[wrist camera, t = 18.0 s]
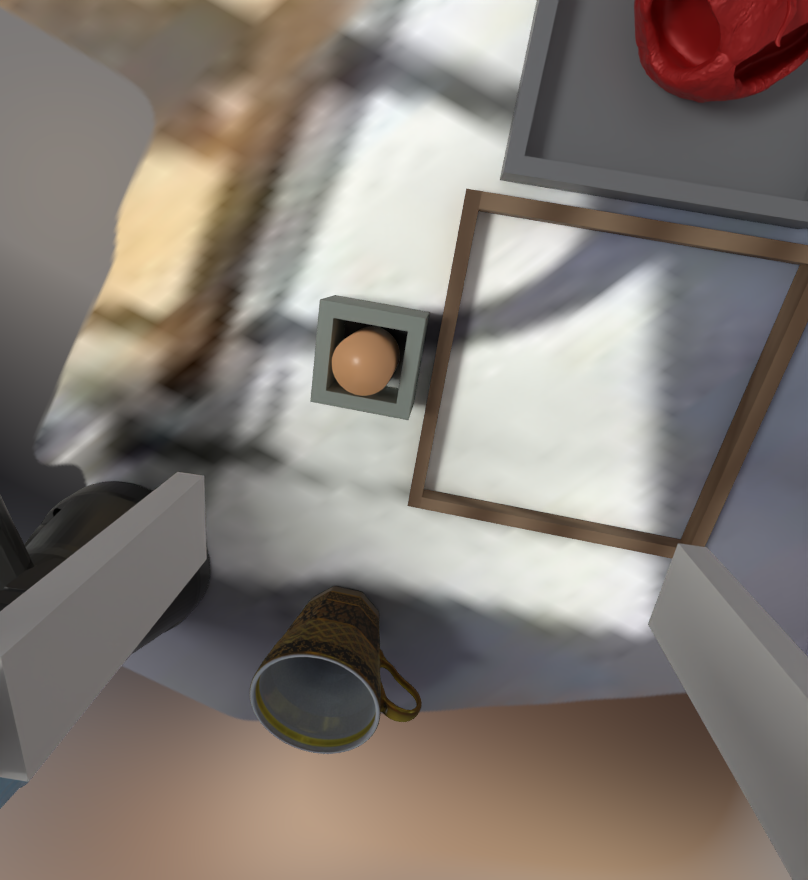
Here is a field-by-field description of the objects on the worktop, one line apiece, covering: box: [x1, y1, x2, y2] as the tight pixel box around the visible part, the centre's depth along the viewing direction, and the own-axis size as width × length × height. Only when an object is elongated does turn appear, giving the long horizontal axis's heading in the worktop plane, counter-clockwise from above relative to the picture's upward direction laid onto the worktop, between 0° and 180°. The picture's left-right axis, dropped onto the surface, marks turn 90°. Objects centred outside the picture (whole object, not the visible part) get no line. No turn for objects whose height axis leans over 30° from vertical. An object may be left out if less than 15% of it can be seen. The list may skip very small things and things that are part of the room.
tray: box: [500, 0, 808, 229], centre depth 26 cm, size 19×19×3 cm
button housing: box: [310, 295, 430, 420], centre depth 34 cm, size 7×7×4 cm
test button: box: [332, 326, 400, 396], centre depth 33 cm, size 4×4×4 cm
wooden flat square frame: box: [408, 189, 808, 558], centre depth 35 cm, size 23×23×2 cm
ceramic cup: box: [250, 586, 421, 754], centre depth 41 cm, size 13×10×10 cm
